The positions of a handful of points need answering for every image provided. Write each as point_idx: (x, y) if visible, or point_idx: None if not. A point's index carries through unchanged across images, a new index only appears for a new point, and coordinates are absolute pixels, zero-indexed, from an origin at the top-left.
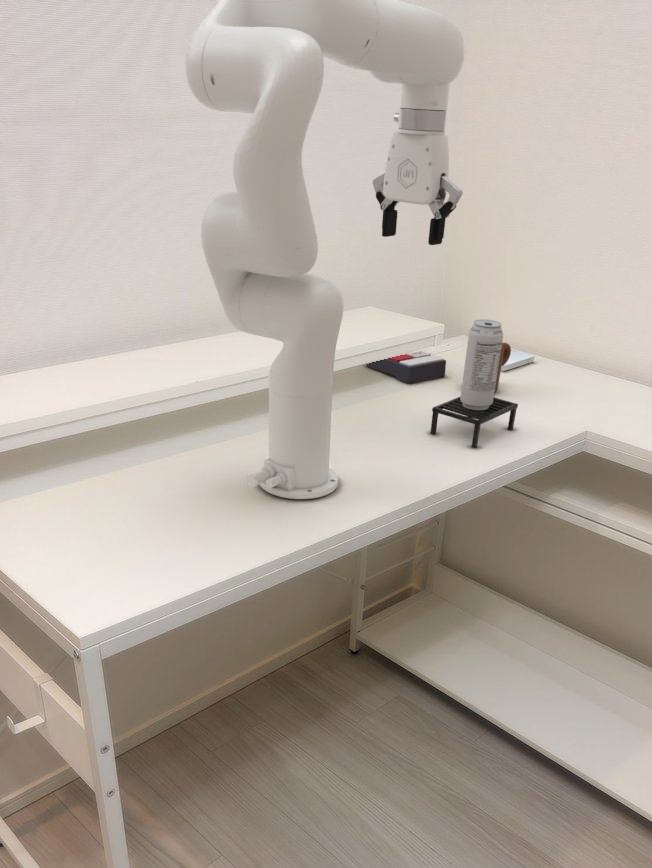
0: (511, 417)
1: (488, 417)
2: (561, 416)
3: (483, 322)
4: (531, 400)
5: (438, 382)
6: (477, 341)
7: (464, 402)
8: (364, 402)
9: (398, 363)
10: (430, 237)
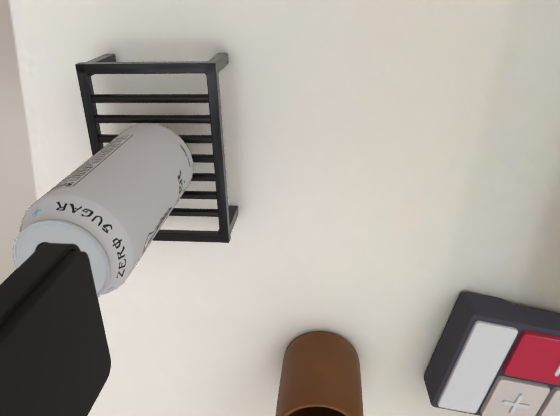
0: None
1: (84, 110)
2: (122, 334)
3: None
4: (212, 370)
5: (415, 342)
6: (69, 186)
7: (158, 125)
8: (479, 111)
9: (516, 324)
10: (32, 269)
